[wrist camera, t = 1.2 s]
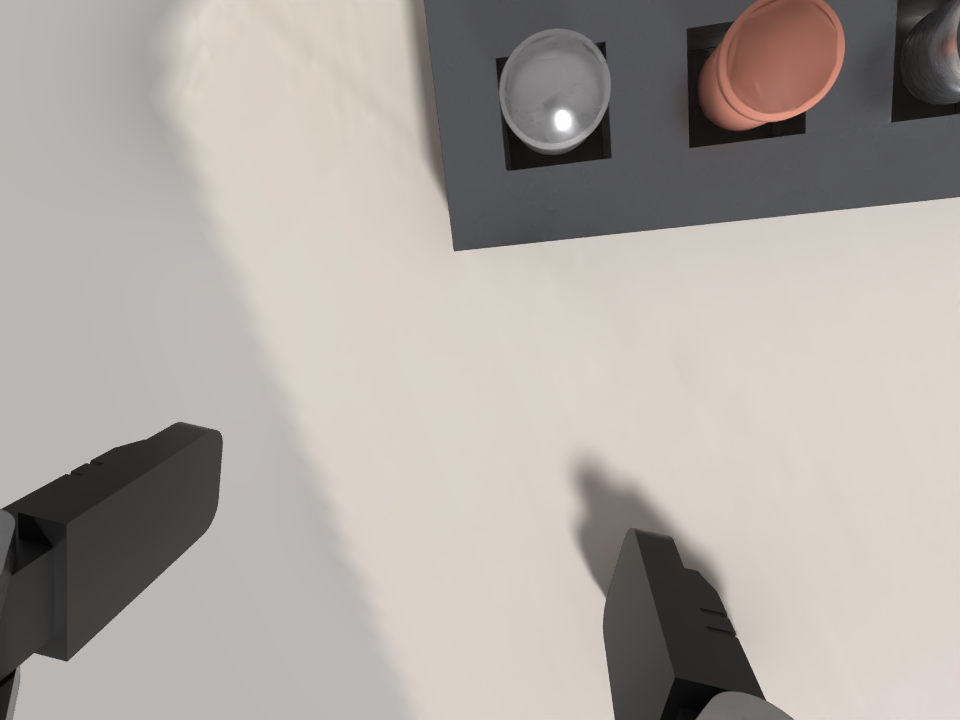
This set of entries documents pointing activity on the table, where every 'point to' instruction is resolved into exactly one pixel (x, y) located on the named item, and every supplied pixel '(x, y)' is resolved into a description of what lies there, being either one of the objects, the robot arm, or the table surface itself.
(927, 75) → the steel plunger
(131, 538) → the robot arm
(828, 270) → the table surface
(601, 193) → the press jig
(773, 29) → the terracotta plunger
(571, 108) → the steel plunger
